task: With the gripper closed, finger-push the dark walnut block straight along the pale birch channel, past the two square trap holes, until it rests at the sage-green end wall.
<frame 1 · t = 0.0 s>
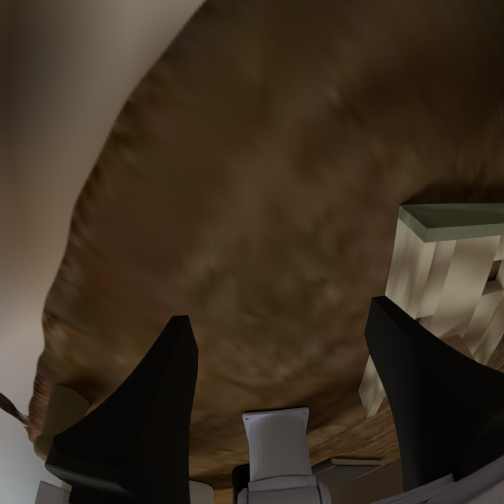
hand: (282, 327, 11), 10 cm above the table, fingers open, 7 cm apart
trap box: (443, 312, 26), on the table
supplement bottle: (250, 468, 44), on the table
can: (186, 484, 51), on the table
cork: (71, 396, 32), on the table
hardcover book: (317, 474, 51), on the table
walnut block: (436, 356, 26), point 2 cm above the table, touching trap box
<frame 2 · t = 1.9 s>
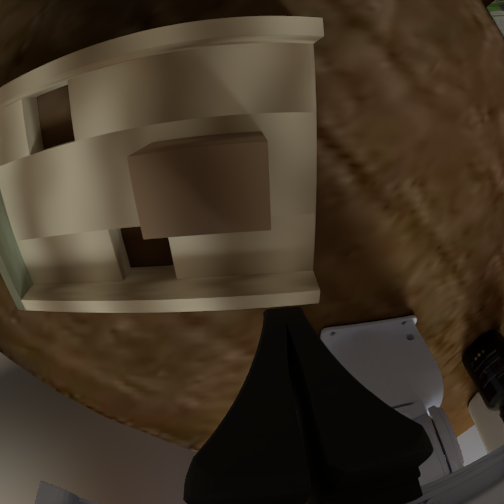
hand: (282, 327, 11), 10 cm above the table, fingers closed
trap box: (135, 172, 18), on the table
supplement bottle: (480, 345, 29), on the table
can: (492, 387, 37), on the table
walnut block: (208, 170, 16), point 2 cm above the table, touching trap box
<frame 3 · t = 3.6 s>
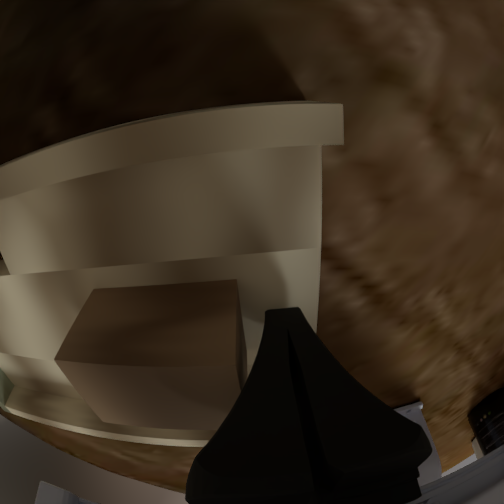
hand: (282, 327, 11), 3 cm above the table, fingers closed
trap box: (90, 301, 14), on the table
supplement bottle: (487, 401, 25), on the table
walnut block: (171, 323, 12), point 2 cm above the table, touching gripper, trap box
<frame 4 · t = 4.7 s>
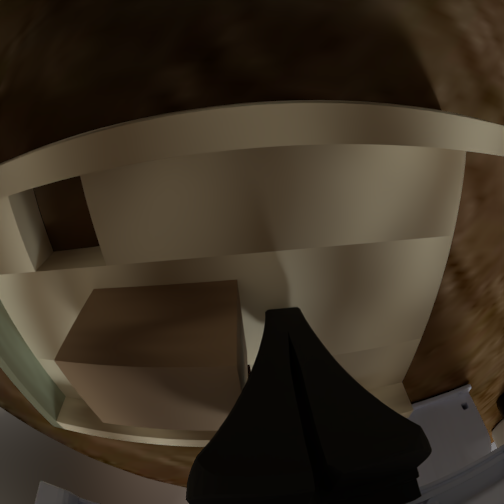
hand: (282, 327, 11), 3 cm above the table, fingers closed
trap box: (199, 295, 13), on the table
walnut block: (171, 323, 12), point 2 cm above the table, touching gripper, trap box
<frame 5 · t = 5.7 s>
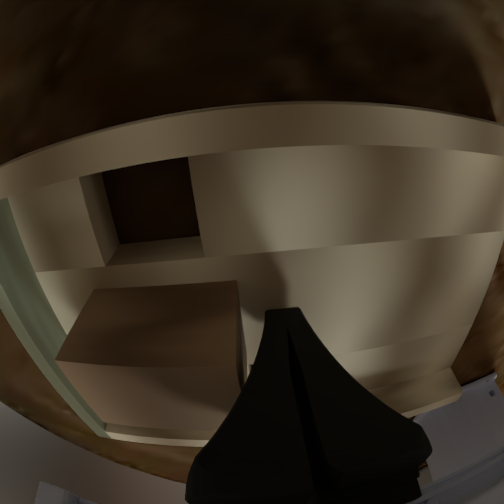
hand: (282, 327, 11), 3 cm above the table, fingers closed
trap box: (285, 288, 13), on the table
walnut block: (171, 323, 12), point 2 cm above the table, touching gripper, trap box
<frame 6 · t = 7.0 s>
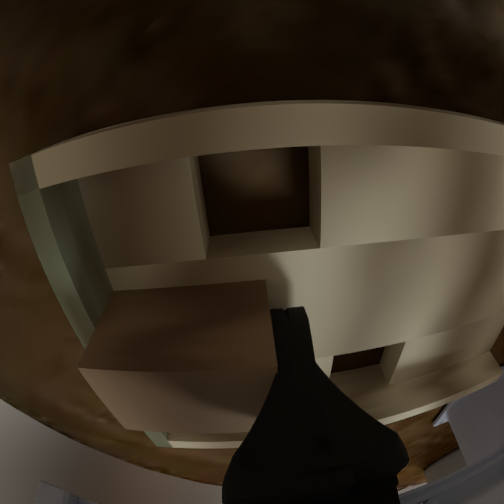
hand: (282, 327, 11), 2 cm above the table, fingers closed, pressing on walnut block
trap box: (369, 279, 13), on the table
cylinder vase: (449, 456, 38), on the table
walnut block: (194, 325, 12), point 2 cm above the table, touching gripper, trap box
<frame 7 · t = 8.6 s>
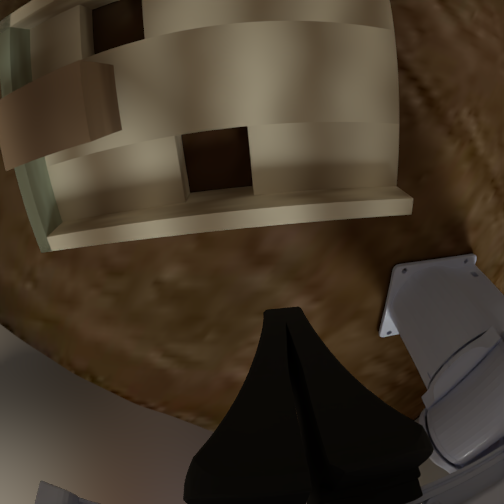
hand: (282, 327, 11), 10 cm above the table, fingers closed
trap box: (207, 79, 15), on the table
cylinder vase: (430, 419, 40), on the table
walnut block: (73, 110, 14), point 2 cm above the table, touching trap box
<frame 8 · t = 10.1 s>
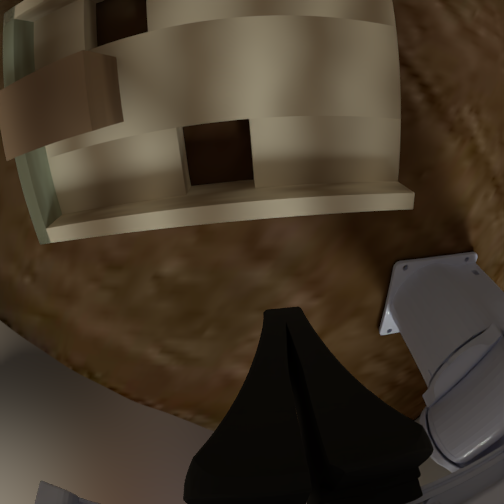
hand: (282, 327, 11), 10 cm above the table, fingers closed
trap box: (210, 72, 15), on the table
cylinder vase: (429, 419, 40), on the table
walnut block: (76, 102, 13), point 2 cm above the table, touching trap box
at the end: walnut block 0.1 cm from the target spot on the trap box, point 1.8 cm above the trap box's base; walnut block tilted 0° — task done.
